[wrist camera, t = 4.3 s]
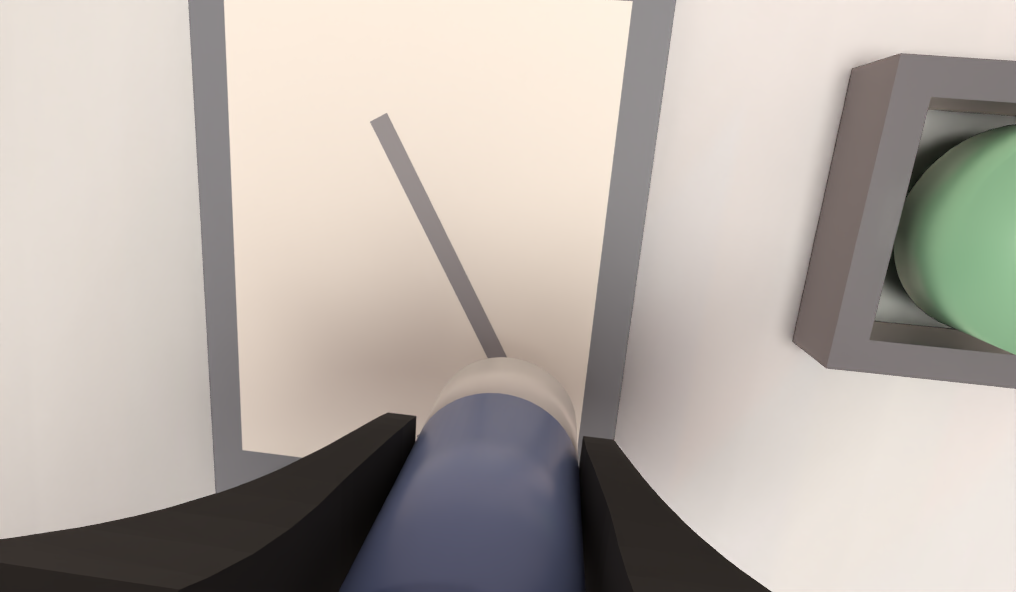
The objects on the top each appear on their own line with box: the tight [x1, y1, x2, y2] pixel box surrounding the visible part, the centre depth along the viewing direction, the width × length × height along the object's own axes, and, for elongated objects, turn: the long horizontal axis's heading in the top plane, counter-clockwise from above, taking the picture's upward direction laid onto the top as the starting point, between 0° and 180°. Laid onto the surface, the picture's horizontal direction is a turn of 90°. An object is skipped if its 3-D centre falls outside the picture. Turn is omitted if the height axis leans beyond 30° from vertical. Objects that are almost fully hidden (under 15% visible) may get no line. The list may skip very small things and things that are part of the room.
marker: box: [339, 357, 586, 592], centre depth 10 cm, size 3×3×7 cm
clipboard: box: [188, 0, 676, 493], centre depth 15 cm, size 16×12×2 cm
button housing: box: [793, 53, 1016, 389], centre depth 13 cm, size 7×7×2 cm
